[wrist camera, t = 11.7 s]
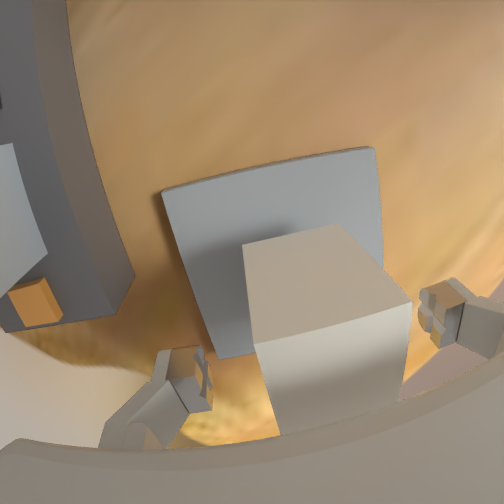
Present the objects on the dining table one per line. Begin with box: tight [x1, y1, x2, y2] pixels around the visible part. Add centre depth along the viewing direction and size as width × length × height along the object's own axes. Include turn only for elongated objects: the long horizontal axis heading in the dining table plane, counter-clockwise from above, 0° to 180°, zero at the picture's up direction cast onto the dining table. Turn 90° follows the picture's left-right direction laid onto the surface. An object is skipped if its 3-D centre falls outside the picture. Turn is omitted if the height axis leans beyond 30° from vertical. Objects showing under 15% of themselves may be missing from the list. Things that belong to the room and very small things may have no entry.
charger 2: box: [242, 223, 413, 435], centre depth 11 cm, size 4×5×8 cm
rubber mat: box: [161, 146, 383, 360], centre depth 15 cm, size 10×10×1 cm
